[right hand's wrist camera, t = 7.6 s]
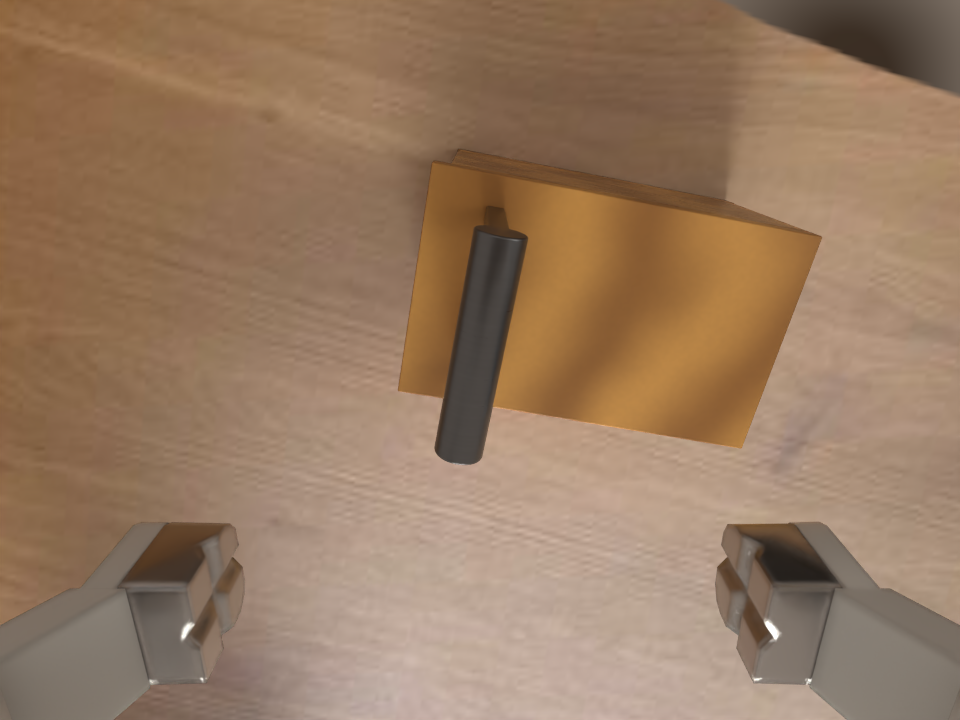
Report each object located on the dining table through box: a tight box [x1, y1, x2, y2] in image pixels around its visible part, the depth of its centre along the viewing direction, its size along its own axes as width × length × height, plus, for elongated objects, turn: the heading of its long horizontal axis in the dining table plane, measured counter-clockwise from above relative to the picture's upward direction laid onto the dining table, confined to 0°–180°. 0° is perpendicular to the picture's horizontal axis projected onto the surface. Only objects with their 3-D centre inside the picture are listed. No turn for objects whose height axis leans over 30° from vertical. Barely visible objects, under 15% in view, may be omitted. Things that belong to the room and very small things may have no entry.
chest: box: [451, 149, 808, 232], centre depth 31 cm, size 15×10×10 cm, turn 80°
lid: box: [398, 161, 822, 465], centre depth 23 cm, size 15×9×8 cm, turn 80°
